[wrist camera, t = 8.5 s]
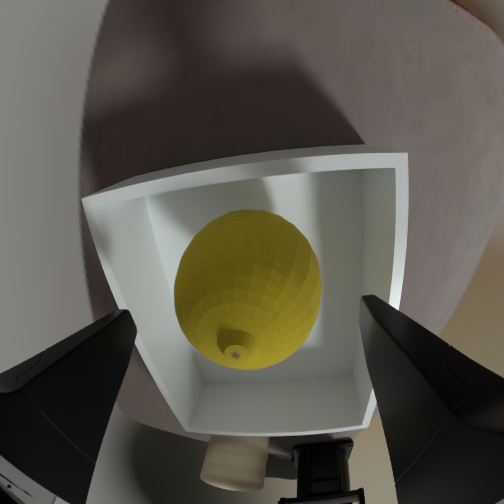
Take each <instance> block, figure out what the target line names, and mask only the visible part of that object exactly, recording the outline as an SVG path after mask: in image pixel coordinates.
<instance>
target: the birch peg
mask: <svg viewBox="0 0 504 504" xmlns="http://www.w3.org/2000/svg"><path fill="white" fill-rule="evenodd" d="M269 438H270V436H233V435H217V434H211V437H210V441H209V445H208V449H207V452H206V456H205V460H204V463H203V467H202V471H201V474H200V478H201V479H202V480H203V481H204V482H206V483H208V484H211V485H213V486H216V487H220V488H224V489H229V490H236V491H257V490H260V489H262V488H263V485H264V478H265V470H266V462H267V455H268V447H269Z"/></svg>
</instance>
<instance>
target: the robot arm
mask: <svg viewBox="0 0 504 504" xmlns="http://www.w3.org/2000/svg"><path fill="white" fill-rule="evenodd" d="M359 327H360V332H361V337H362V343H363V348H364V354H365V360H366V365H367V369H368V373H369V376H370V380H371V383H372V387H373V390H374V394H375V398H376V401H377V405H378V409H379V413H380V417H381V421H382V425H383V429H384V433H385V438H386V442H387V447H388V451H389V455H390V461H391V466H392V471H393V476H394V481H395V483H396V484H395V488H396V494H397V500H398V504H504V378H503V377H501V376H499V375H497V374H496V373H494V372H492V371H491V370H489V369H487V368H485V367H484V366H482V365H480V364H478V363H477V362H475V361H473V360H472V359H470V358H469V357H467V356H466V355H464V354H463V353H461V352H460V351H458V350H457V349H455V348H454V347H452V346H451V345H450V346H449V344H448V343H446V342H445V341H443V340H442V339H441V338H439V337H438V336H436V335H435V334H433V333H432V332H430V331H429V330H427V329H426V328H424V327H423V326H421V325H420V324H418V323H417V322H415V321H414V320H412V319H411V318H409V317H408V316H406V315H405V314H403V313H402V312H400V311H399V310H397V309H396V308H394V307H393V306H391V305H390V304H388V303H386V302H385V301H383V300H382V299H380V298H379V297H377V296H376V295H374V294H371V295H363V296H361V298H360V307H359ZM136 336H137V327H136V324H135V322H134V320H133V317H132V315H131V313H130V311H129V310H127V309H117V310H115V311H114V312H112V313H110V314H108V315H106V316H105V317H103V318H101V319H99V320H97V321H96V322H94V323H92V324H90V325H88V326H87V327H85V328H83V329H81V330H80V331H78V332H76V333H74V334H72V335H71V336H69V337H67V338H65V339H64V340H62V341H60V342H58V343H56V344H55V345H53V346H51V347H49V348H48V349H46V350H45V351H42V352H41V353H39V354H37V355H35V356H33V357H32V358H30V359H28V360H26V361H24V362H22V363H21V364H18V365H16V366H14V367H12V368H11V369H9V370H6V371H4V372H2V373H1V374H0V504H54V502H55V500H56V497H59V498H61V499H63V500H64V501H66V502H68V503H70V504H86V500H87V495H88V491H89V488H90V483H91V480H92V476H93V472H94V469H95V465H96V464H95V463H96V461H97V457H98V454H99V450H100V447H101V444H102V440H103V437H104V434H105V431H106V428H107V425H108V422H109V419H110V416H111V413H112V410H113V407H114V404H115V401H116V398H117V395H118V393H119V390H120V387H121V384H122V382H123V379H124V376H125V374H126V371H127V368H128V364H129V361H130V357H131V354H132V350H133V346H134V343H135V339H136ZM353 445H354V443H353V441H352V440H350V441H343V442H335V443H325V444H314V445H300V446H295V447H294V463H295V467H296V468H298V470H297V498H280V501H278V504H352V503H353V502H358V504H365V497H364V489H363V488H359V489H358V490H352V491H350V478H349V466H348V459H349V457H350V454H351V451H352V448H353Z"/></svg>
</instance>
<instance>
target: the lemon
mask: <svg viewBox="0 0 504 504" xmlns="http://www.w3.org/2000/svg"><path fill="white" fill-rule="evenodd" d="M321 292H322V280H321V275H320V269H319V264H318V260H317V257H316V255H315V253H314V251H313V249H312V247H311V245H310V243H309V241H308V240H307V238H306V237H305V236H304V235H303V234H302V233H301V232H300V231H299V230H298V228H297V227H296V226H295V225H294V224H292V223H290V222H289V221H287V220H286V219H284V218H283V217H281V216H279V215H276V214H273V213H270V212H267V211H264V210H252V209H244V210H238V211H233V212H229V213H227V214H225V215H222V216H220V217H218V218H216V219H214V220H212V221H211V222H209V223H208V224H207V225H206V226H205V227H204V228H202V229H201V230H200V231H199V232H198V233H197V234H196V235H195V236H194V237H193V239H192V240H191V242H190V243H189V245H188V247H187V248H186V250H185V251H184V253H183V255H182V257H181V260H180V263H179V267H178V271H177V274H176V278H175V283H174V308H175V313H176V316H177V319H178V322H179V325H180V328H181V330H182V332H183V333H184V335H185V336H186V338H187V339H188V341H189V342H190V344H191V345H192V346H193V347H194V348H195V349H196V350H198V351H199V352H200V353H201V354H202V355H203V356H205V357H206V358H208V359H210V360H211V361H213V362H215V363H217V364H220V365H223V366H225V367H229V368H234V369H239V370H254V369H260V368H265V367H269V366H271V365H274V364H276V363H279V362H281V361H283V360H284V359H286V358H287V357H289V356H290V355H292V354H293V353H294V352H295V351H296V350H297V349H298V348H299V347H300V346H301V345H302V344H303V343H304V341H305V340H306V339H307V338H308V336H309V334H310V332H311V330H312V328H313V326H314V324H315V321H316V319H317V316H318V312H319V307H320V300H321Z"/></svg>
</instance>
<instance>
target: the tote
mask: <svg viewBox="0 0 504 504" xmlns="http://www.w3.org/2000/svg"><path fill="white" fill-rule="evenodd" d="M82 203H83V207H84V211H85V214H86V218H87V221H88V225H89V228H90V231H91V235H92V238H93V241H94V244H95V247H96V250H97V253H98V256H99V259H100V262H101V264H102V267H103V270H104V273H105V275H106V278H107V281H108V283H109V286H110V288H111V291H112V293H113V296H114V298H115V301H116V303H117V305H118V308H119V309H127V310H129V311H130V313H131V315H132V317H133V320H134V322H135V324H136V327H137V336H136V339H135V345H136V347H137V349H138V351H139V353H140V355H141V357H142V358H143V360H144V362H145V364H146V366H147V368H148V370H149V372H150V373H151V375H152V377H153V379H154V381H155V382H156V384H157V386H158V388H159V389H160V391H161V393H162V395H163V396H164V398H165V400H166V401H167V403H168V405H169V406H170V408H171V409H172V411H173V413H174V414H175V416H176V417H177V419H178V420H179V422H180V423H181V425H182V426H183V428H184V429H185V431H187V432H196V433H206V434H217V435H233V436H295V435H311V434H322V433H332V432H340V431H348V430H355V429H361V428H367V427H368V426H369V423H370V420H371V417H372V415H373V412H374V408H375V405H376V402H377V401H376V398H375V394H374V390H373V387H372V383H371V380H370V376H369V373H368V369H367V365H366V360H365V354H364V348H363V343H362V337H361V332H360V327H359V307H360V298H361V296H363V295H371V294H374V295H376V296H377V297H379V298H380V299H382V300H383V301H385V302H386V303H388V304H390V305H391V306H393V307H394V308H396V309H397V310H399V304H400V297H401V290H402V283H403V275H404V266H405V256H406V244H407V228H408V154H407V153H406V152H402V151H397V150H393V149H388V148H383V147H378V146H372V145H367V144H360V145H337V146H322V147H309V148H297V149H287V150H278V151H269V152H261V153H253V154H246V155H239V156H233V157H226V158H220V159H214V160H208V161H203V162H197V163H192V164H187V165H182V166H177V167H172V168H168V169H163V170H159V171H154V172H150V173H146V174H141V175H137V176H134V177H132V178H129V179H127V180H124V181H122V182H119V183H117V184H114V185H112V186H109V187H107V188H104V189H102V190H100V191H97V192H95V193H93V194H90V195H88V196H86V197H84V198H82ZM244 209H252V210H264V211H267V212H270V213H273V214H276V215H279V216H281V217H283V218H284V219H286V220H287V221H289V222H290V223H292V224H294V225H295V226H296V227H297V228H298V230H299V231H300V232H301V233H302V234H303V235H304V236H305V237H306V238H307V240H308V241H309V243H310V245H311V247H312V249H313V251H314V253H315V255H316V257H317V260H318V264H319V269H320V275H321V280H322V292H321V300H320V307H319V312H318V316H317V319H316V321H315V324H314V326H313V328H312V330H311V332H310V334H309V336H308V338H307V339H306V340H305V341H304V343H303V344H302V345H301V346H300V347H299V348H298V349H297V350H296V351H295V352H294V353H293V354H292V355H290V356H289V357H287V358H286V359H284V360H283V361H281V362H279V363H276V364H274V365H271V366H269V367H265V368H260V369H254V370H239V369H234V368H229V367H225V366H223V365H220V364H217V363H215V362H213V361H211V360H210V359H208V358H206V357H205V356H203V355H202V354H201V353H200V352H199V351H198V350H196V349H195V348H194V347H193V346H192V345H191V344H190V342H189V341H188V339H187V338H186V336H185V335H184V333H183V332H182V330H181V328H180V325H179V322H178V319H177V316H176V313H175V308H174V283H175V278H176V274H177V271H178V267H179V263H180V260H181V257H182V255H183V253H184V251H185V250H186V248H187V247H188V245H189V243H190V242H191V240H192V239H193V237H194V236H195V235H196V234H197V233H198V232H199V231H200V230H201V229H202V228H204V227H205V226H206V225H207V224H208V223H209V222H211V221H212V220H214V219H216V218H218V217H220V216H222V215H225V214H227V213H229V212H233V211H238V210H244Z"/></svg>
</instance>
